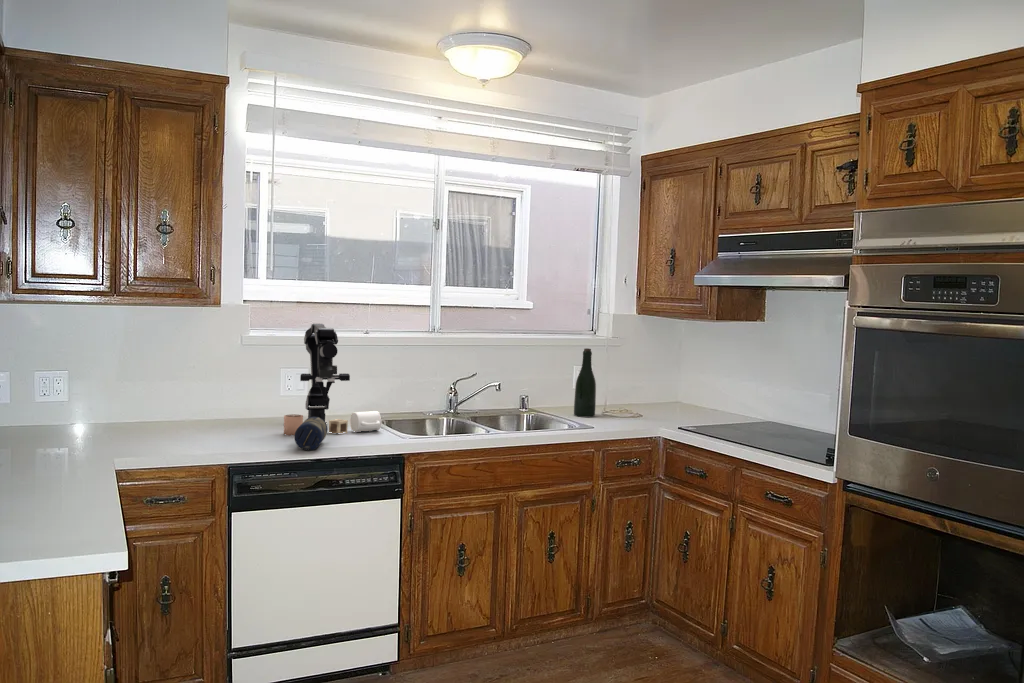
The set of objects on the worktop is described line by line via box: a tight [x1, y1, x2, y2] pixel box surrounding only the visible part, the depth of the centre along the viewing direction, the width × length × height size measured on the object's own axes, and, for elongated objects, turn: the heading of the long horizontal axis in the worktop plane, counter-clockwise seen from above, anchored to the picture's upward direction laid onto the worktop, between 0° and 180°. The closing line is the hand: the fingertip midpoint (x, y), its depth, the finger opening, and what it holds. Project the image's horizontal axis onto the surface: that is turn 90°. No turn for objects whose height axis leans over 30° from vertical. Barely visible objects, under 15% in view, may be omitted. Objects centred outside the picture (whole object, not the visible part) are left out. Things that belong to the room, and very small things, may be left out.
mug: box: [349, 410, 382, 433], centre depth 303 cm, size 12×10×8 cm
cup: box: [283, 413, 304, 436], centre depth 293 cm, size 7×7×7 cm
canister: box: [294, 417, 329, 451], centre depth 270 cm, size 10×10×18 cm
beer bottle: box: [573, 348, 597, 417], centre depth 371 cm, size 10×10×33 cm
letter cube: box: [328, 418, 349, 434], centre depth 299 cm, size 5×5×5 cm
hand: (324, 399), depth 299 cm, fingers closed
